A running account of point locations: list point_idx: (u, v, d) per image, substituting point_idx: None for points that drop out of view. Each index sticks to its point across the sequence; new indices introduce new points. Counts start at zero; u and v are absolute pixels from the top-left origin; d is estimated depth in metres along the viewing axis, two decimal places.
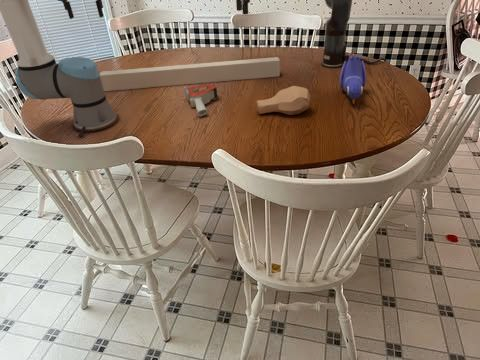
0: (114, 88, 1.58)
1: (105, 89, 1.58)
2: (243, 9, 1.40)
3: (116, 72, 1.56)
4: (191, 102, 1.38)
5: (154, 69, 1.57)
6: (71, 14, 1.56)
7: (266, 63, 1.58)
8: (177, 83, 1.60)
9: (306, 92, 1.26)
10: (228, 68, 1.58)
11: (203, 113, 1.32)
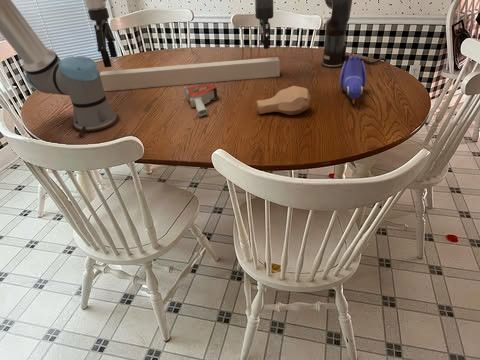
0: (114, 88, 1.58)
1: (105, 89, 1.58)
2: (264, 44, 1.51)
3: (116, 72, 1.56)
4: (191, 102, 1.38)
5: (154, 69, 1.57)
6: (112, 53, 1.58)
7: (266, 63, 1.58)
8: (177, 83, 1.60)
9: (306, 92, 1.26)
10: (228, 68, 1.58)
11: (203, 113, 1.32)
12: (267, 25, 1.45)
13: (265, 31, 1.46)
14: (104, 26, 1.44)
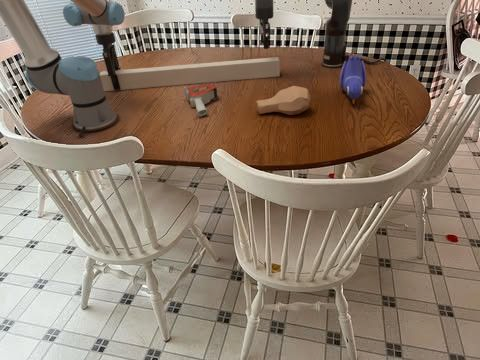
0: None
1: (105, 89, 1.58)
2: (264, 44, 1.51)
3: (116, 72, 1.56)
4: (191, 102, 1.38)
5: (154, 69, 1.57)
6: None
7: (266, 63, 1.58)
8: (177, 83, 1.60)
9: (306, 92, 1.26)
10: (228, 68, 1.58)
11: (203, 113, 1.32)
12: (267, 25, 1.45)
13: (265, 31, 1.46)
14: (111, 50, 1.49)
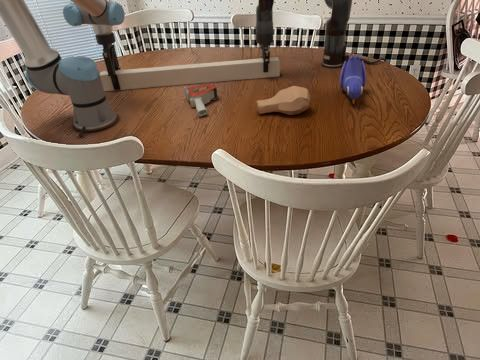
0: None
1: (105, 89, 1.58)
2: (264, 68, 1.59)
3: (116, 72, 1.56)
4: (191, 102, 1.38)
5: (154, 69, 1.57)
6: None
7: None
8: (177, 83, 1.60)
9: (306, 92, 1.26)
10: (228, 68, 1.58)
11: (203, 113, 1.32)
12: (267, 52, 1.51)
13: (265, 57, 1.53)
14: (111, 50, 1.49)
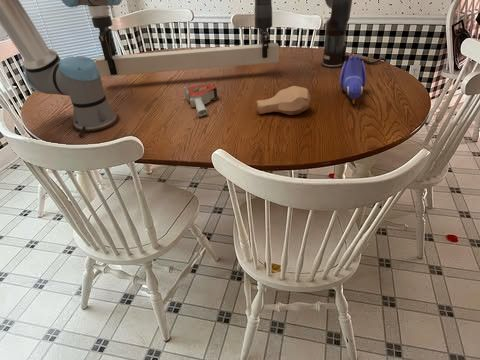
0: None
1: (102, 74, 1.56)
2: (263, 53, 1.57)
3: (113, 57, 1.54)
4: (191, 102, 1.38)
5: (151, 54, 1.55)
6: None
7: None
8: (175, 69, 1.58)
9: (306, 92, 1.26)
10: (227, 53, 1.56)
11: (203, 113, 1.32)
12: (266, 37, 1.49)
13: (264, 42, 1.51)
14: (107, 33, 1.47)
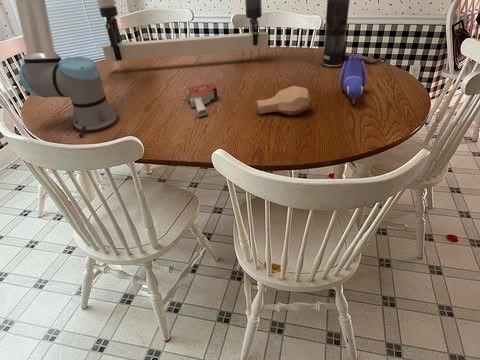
0: None
1: (108, 60, 1.73)
2: (253, 41, 1.73)
3: (118, 44, 1.71)
4: (191, 102, 1.38)
5: (153, 41, 1.72)
6: None
7: None
8: (174, 55, 1.74)
9: (306, 92, 1.26)
10: (221, 41, 1.73)
11: (203, 113, 1.32)
12: (256, 26, 1.66)
13: (254, 30, 1.68)
14: (113, 22, 1.64)
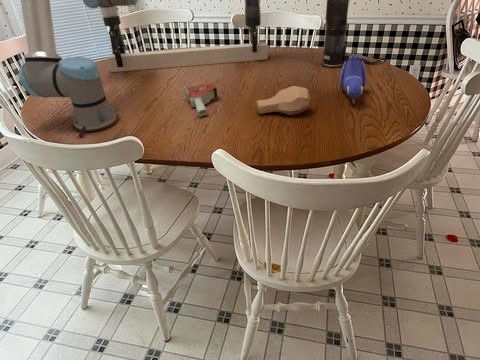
0: (120, 69, 1.79)
1: (113, 70, 1.79)
2: (252, 48, 1.78)
3: (122, 55, 1.77)
4: (191, 102, 1.38)
5: (156, 52, 1.77)
6: None
7: None
8: (176, 65, 1.80)
9: (306, 92, 1.26)
10: (222, 51, 1.78)
11: (203, 113, 1.32)
12: (255, 33, 1.71)
13: (253, 38, 1.72)
14: (116, 31, 1.69)
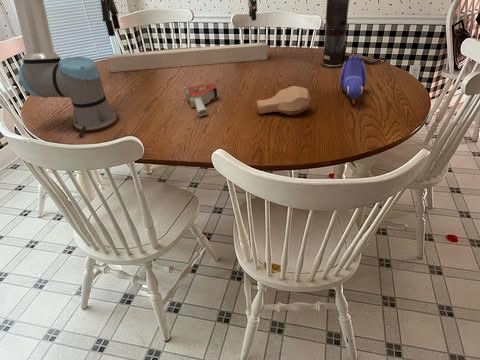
0: (120, 69, 1.79)
1: (113, 70, 1.79)
2: (252, 16, 1.68)
3: (122, 55, 1.77)
4: (191, 102, 1.38)
5: (156, 52, 1.77)
6: (116, 25, 1.75)
7: (255, 47, 1.79)
8: (176, 65, 1.80)
9: (306, 92, 1.26)
10: (222, 51, 1.78)
11: (203, 113, 1.32)
12: None
13: (252, 3, 1.63)
14: None
